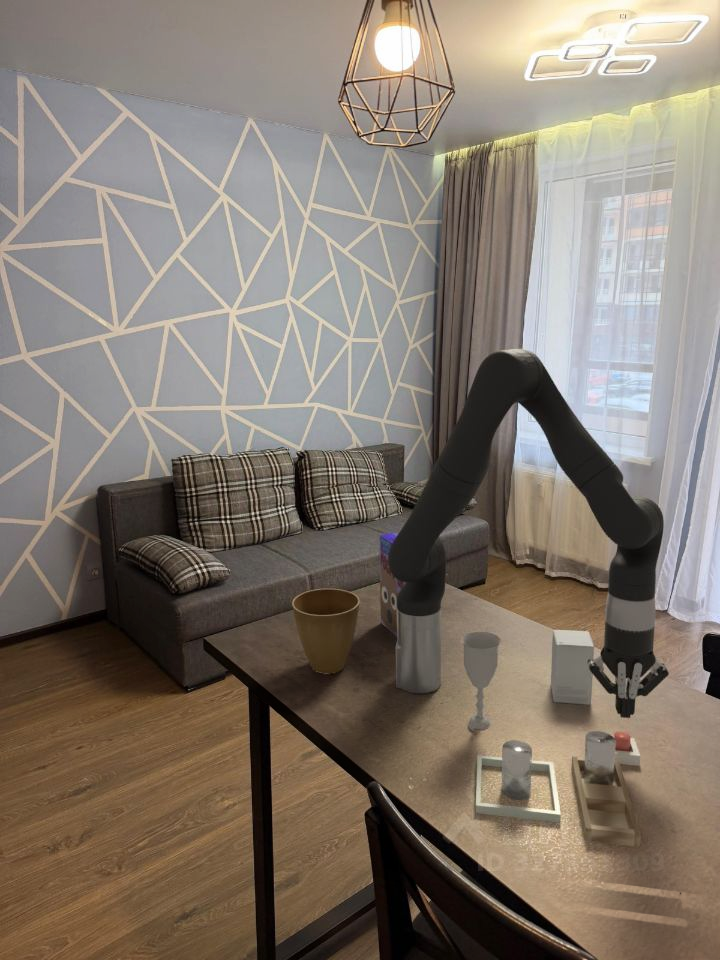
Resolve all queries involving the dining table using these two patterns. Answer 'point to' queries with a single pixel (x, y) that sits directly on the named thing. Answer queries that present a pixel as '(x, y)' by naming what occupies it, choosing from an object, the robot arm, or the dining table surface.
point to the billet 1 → (516, 769)
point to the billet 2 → (599, 758)
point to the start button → (622, 741)
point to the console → (629, 755)
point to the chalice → (480, 669)
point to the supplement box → (571, 666)
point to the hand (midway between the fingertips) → (624, 715)
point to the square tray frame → (512, 810)
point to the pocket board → (606, 808)
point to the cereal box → (388, 584)
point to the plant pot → (326, 626)
